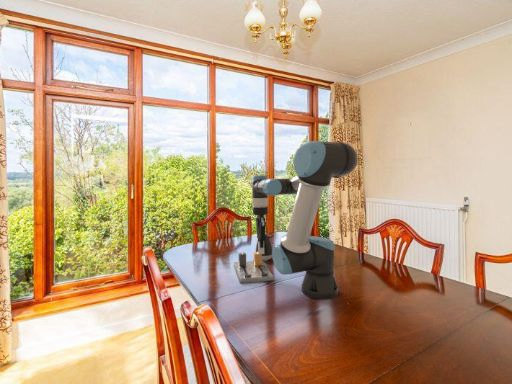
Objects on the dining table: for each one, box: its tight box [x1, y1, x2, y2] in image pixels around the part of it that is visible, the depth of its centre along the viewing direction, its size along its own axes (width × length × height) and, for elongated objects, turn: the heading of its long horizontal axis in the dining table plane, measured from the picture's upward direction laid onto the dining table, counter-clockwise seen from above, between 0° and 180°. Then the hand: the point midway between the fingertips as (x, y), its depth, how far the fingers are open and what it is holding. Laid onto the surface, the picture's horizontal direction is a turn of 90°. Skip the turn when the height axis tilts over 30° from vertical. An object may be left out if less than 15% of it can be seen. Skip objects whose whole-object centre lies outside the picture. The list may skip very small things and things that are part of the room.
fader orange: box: [253, 252, 262, 266], centre depth 149 cm, size 3×4×6 cm
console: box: [233, 259, 275, 284], centre depth 143 cm, size 24×16×3 cm
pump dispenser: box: [255, 233, 274, 262], centre depth 164 cm, size 10×10×15 cm
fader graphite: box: [238, 251, 247, 266], centre depth 149 cm, size 3×4×6 cm
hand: (261, 253), depth 140 cm, fingers closed
